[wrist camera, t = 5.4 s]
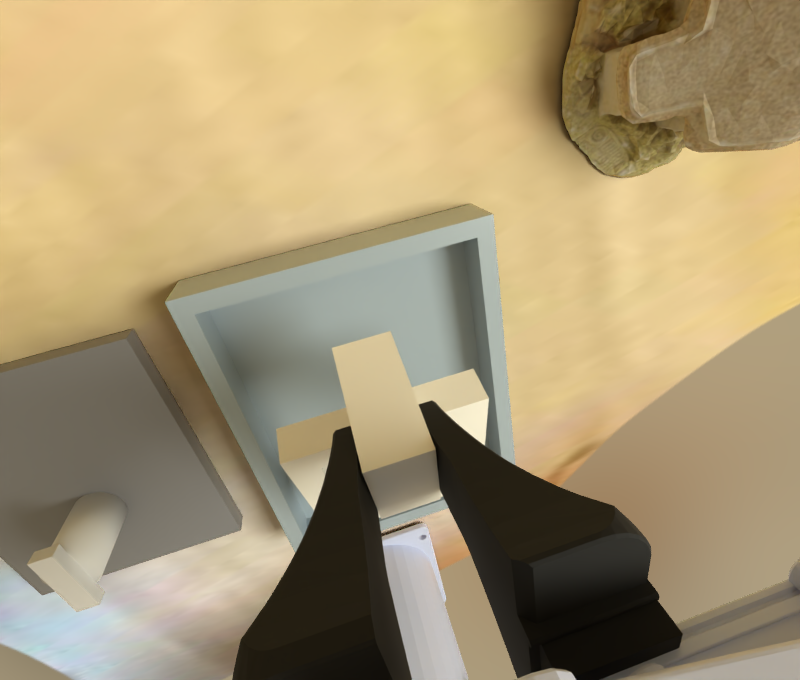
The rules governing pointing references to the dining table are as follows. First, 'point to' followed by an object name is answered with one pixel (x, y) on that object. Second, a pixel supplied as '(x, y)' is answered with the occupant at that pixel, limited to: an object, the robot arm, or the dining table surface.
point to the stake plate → (99, 468)
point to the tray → (346, 333)
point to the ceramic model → (681, 79)
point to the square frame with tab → (383, 426)
